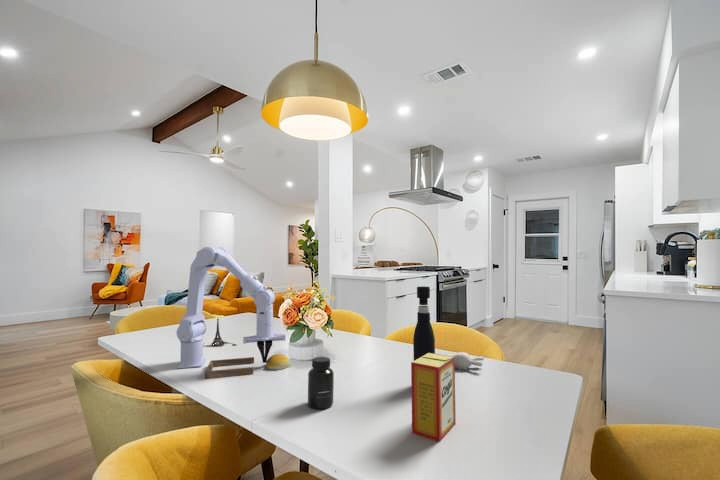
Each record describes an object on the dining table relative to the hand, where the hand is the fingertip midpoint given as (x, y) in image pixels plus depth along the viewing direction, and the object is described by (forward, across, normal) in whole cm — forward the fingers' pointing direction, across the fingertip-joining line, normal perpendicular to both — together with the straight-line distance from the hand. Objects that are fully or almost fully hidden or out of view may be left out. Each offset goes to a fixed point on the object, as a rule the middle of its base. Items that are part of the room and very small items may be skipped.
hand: (264, 362), depth 124 cm
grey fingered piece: (+2, +66, -21) cm, 70 cm away
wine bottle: (+2, +46, -34) cm, 57 cm away
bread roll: (+2, +5, 0) cm, 5 cm away
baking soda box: (+2, +37, -56) cm, 68 cm away
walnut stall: (+2, -11, 0) cm, 11 cm away
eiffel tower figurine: (+2, -19, +37) cm, 42 cm away
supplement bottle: (+2, +14, -36) cm, 39 cm away
